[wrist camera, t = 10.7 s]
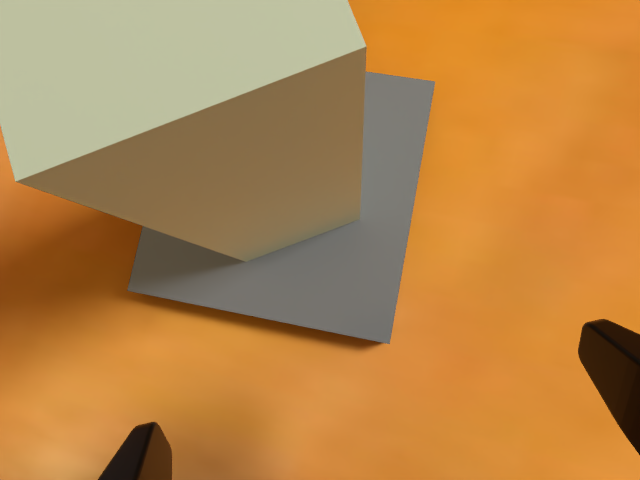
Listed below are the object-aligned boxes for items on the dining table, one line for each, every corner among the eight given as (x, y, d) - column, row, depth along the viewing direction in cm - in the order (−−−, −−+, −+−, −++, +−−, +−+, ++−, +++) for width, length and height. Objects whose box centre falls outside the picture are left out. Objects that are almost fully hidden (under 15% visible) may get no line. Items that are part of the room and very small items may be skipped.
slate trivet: (387, 341, 19) (389, 344, 18) (138, 291, 20) (127, 290, 19) (431, 92, 20) (435, 81, 19) (193, 57, 22) (186, 45, 21)
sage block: (359, 219, 19) (366, 46, 6) (245, 261, 19) (15, 181, 6) (318, 110, 20) (245, -249, 7) (208, 152, 20) (-66, -123, 7)
